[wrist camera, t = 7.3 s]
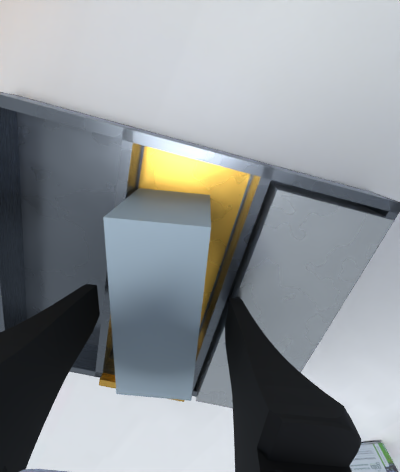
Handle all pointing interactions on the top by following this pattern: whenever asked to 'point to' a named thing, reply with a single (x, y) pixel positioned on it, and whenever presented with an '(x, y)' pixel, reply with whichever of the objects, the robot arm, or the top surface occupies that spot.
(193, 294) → the tall blue-grey block
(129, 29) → the top surface
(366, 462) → the syrup box
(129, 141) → the grey compartment tray
